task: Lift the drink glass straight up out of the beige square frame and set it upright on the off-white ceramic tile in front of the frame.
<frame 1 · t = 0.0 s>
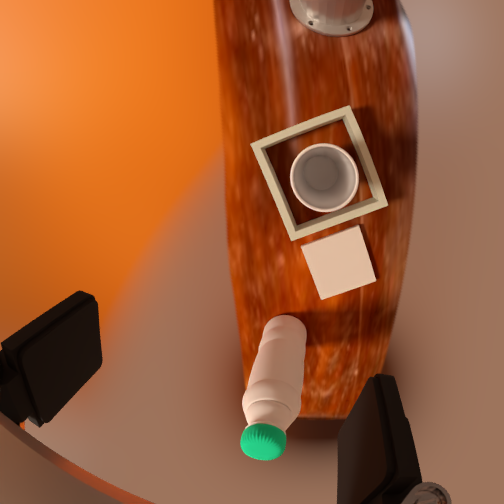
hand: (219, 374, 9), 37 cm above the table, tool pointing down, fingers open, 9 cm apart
water bottle: (285, 331, 51), on the table
beige square frame: (320, 172, 42), on the table
ceramic tile: (339, 262, 45), on the table
drinking glass: (320, 172, 42), resting in beige square frame
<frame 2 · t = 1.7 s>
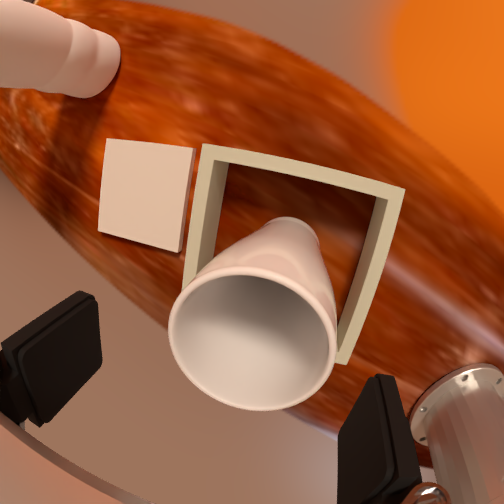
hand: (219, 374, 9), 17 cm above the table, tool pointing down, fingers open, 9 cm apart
water bottle: (97, 67, 24), on the table
beige square frame: (287, 247, 25), on the table
ceramic tile: (143, 191, 27), on the table
drinking glass: (287, 247, 26), resting in beige square frame
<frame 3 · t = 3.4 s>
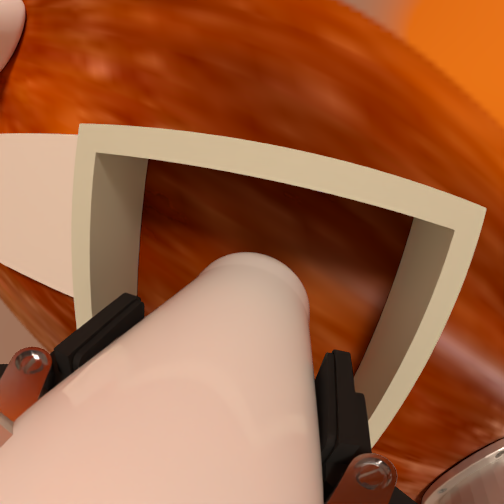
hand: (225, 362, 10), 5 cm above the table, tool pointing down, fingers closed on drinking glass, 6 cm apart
water bottle: (3, 41, 13), on the table
beige square frame: (252, 303, 14), on the table
ceramic tile: (41, 208, 15), on the table
drinking glass: (252, 301, 15), resting in beige square frame, touching gripper
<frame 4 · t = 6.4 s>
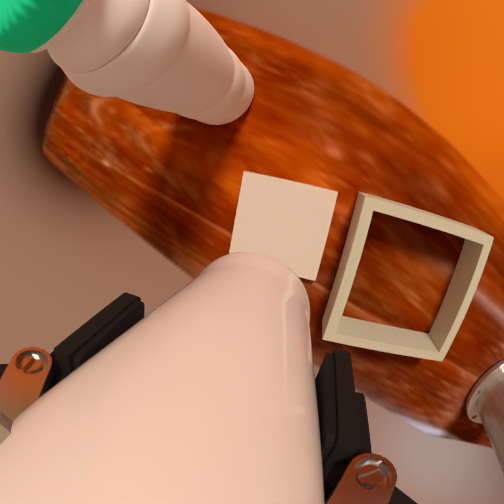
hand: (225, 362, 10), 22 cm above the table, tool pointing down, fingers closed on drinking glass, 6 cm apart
water bottle: (220, 92, 28), on the table
beige square frame: (402, 275, 29), on the table
ceramic tile: (281, 225, 30), on the table
drinking glass: (252, 301, 15), point 17 cm above the table, touching gripper
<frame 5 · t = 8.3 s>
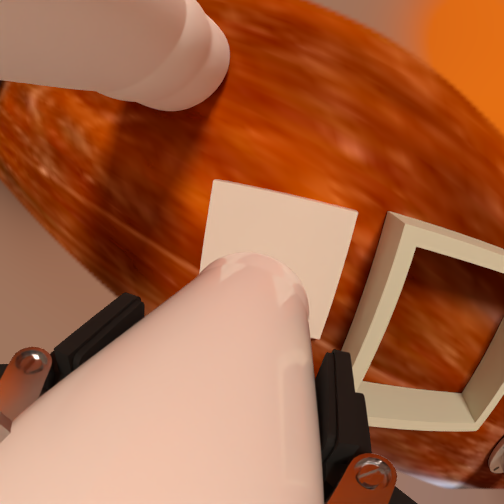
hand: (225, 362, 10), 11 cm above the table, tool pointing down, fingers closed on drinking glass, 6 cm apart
water bottle: (183, 65, 18), on the table
beige square frame: (440, 327, 19), on the table
ceramic tile: (271, 260, 20), on the table
drinking glass: (252, 301, 14), point 6 cm above the table, touching gripper
when the fingers open (7 cm above the table, at t = 9.7 s): drinking glass drops 1 cm, resting on ceramic tile.
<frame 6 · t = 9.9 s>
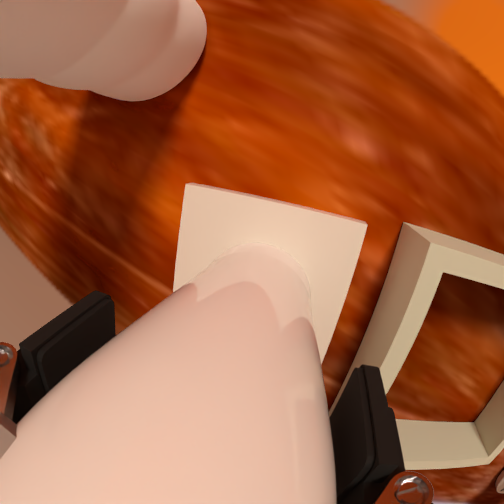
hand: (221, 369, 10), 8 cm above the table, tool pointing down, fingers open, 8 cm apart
water bottle: (153, 47, 14), on the table
beige square frame: (457, 356, 16), on the table
ceramic tile: (259, 282, 17), on the table
drinking glass: (258, 288, 16), point 1 cm above the table, touching ceramic tile
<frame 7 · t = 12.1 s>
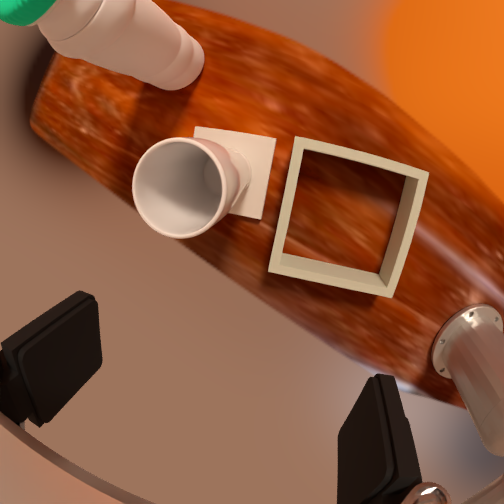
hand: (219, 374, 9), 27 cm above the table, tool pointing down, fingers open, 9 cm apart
water bottle: (178, 64, 31), on the table
beige square frame: (344, 214, 33), on the table
ceramic tile: (229, 171, 34), on the table
drinking glass: (228, 172, 33), point 1 cm above the table, touching ceramic tile
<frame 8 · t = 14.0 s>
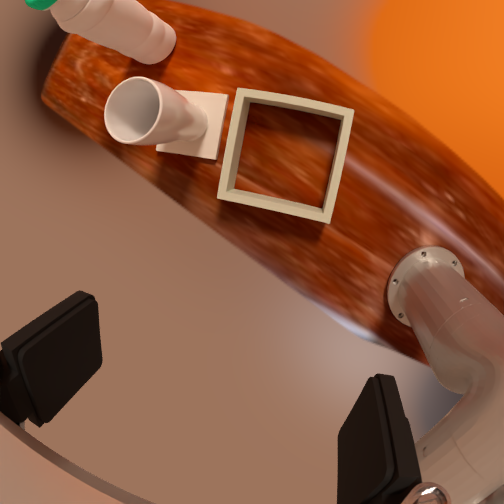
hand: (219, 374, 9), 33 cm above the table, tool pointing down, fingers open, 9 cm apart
water bottle: (157, 45, 37), on the table
beige square frame: (286, 153, 39), on the table
ceramic tile: (192, 123, 40), on the table
drinking glass: (191, 123, 39), point 1 cm above the table, touching ceramic tile
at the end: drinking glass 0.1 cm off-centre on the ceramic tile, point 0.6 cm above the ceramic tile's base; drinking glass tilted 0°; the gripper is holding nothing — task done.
